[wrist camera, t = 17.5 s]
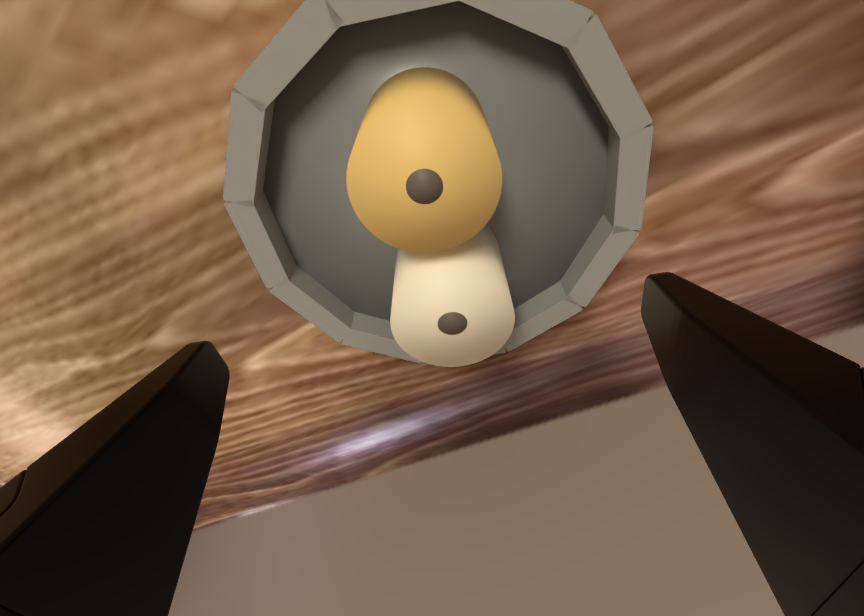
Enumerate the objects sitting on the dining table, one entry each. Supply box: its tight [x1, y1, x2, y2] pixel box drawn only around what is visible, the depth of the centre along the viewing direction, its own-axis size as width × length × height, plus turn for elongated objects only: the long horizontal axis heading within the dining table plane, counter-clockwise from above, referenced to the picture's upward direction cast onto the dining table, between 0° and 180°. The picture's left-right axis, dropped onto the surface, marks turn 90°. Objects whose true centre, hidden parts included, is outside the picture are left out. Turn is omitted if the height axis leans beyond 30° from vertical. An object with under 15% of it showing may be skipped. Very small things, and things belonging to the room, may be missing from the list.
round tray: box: [223, 0, 654, 364], centre depth 20 cm, size 17×17×3 cm
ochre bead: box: [346, 67, 502, 253], centre depth 17 cm, size 5×5×5 cm
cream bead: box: [390, 224, 515, 367], centre depth 20 cm, size 5×5×5 cm
